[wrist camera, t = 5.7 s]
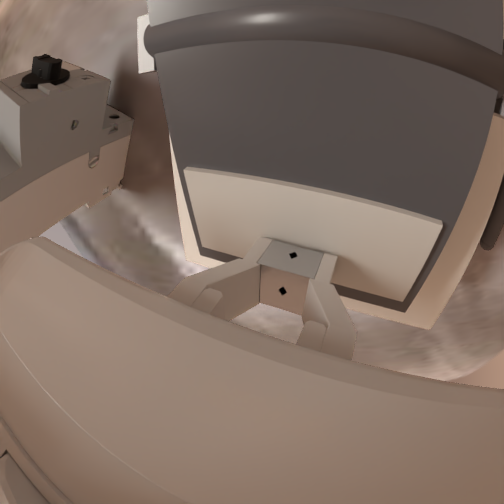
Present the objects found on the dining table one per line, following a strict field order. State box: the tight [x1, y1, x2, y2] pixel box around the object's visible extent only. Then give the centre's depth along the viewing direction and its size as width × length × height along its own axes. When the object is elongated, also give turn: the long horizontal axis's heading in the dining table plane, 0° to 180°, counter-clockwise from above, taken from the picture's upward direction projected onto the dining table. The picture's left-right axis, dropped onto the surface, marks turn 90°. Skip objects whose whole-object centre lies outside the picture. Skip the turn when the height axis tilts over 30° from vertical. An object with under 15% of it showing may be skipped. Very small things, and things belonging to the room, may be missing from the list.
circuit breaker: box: [0, 54, 134, 253], centre depth 16 cm, size 8×14×15 cm, turn 154°
